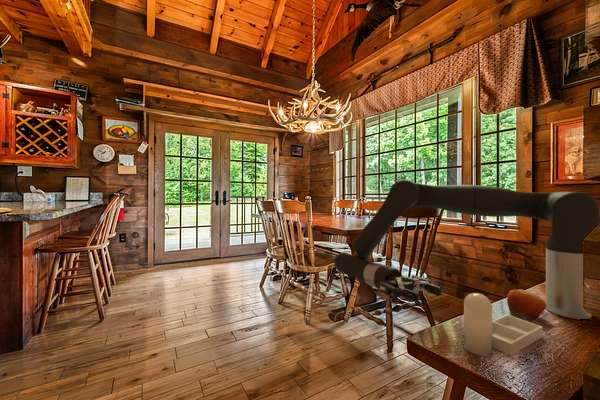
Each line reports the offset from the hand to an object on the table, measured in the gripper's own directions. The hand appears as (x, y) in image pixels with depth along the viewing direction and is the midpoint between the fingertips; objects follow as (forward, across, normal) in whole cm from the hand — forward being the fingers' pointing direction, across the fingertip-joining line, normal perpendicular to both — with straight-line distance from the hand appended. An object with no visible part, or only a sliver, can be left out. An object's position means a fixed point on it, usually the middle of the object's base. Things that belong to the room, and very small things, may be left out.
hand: (429, 295), depth 67 cm
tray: (+12, +11, +8) cm, 18 cm away
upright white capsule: (+11, 0, +8) cm, 14 cm away
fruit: (+9, +27, +8) cm, 30 cm away
